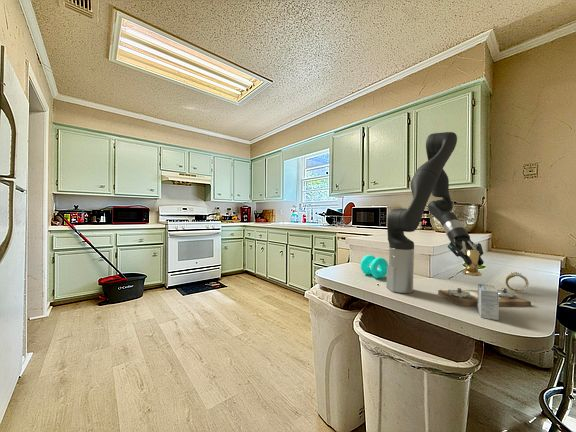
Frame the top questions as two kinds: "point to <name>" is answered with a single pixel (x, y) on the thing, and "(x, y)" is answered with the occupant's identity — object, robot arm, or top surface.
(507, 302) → the gear board
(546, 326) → the top surface
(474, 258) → the gold metal cylinder
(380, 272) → the donuts
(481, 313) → the medicine box
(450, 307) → the top surface
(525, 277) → the bracelet
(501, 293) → the steel gears
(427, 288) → the top surface
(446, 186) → the robot arm
